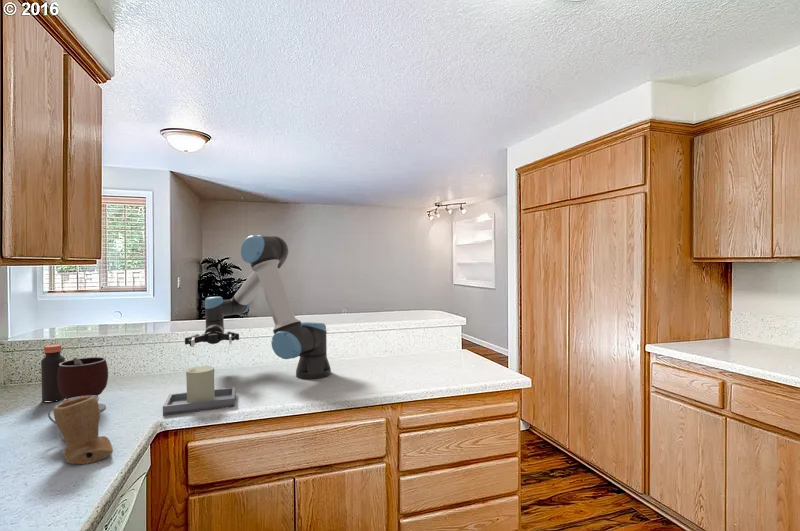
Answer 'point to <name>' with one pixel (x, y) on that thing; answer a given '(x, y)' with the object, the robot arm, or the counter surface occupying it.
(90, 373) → the mate gourd
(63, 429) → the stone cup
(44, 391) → the bottle
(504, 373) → the counter surface
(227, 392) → the tray
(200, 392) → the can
